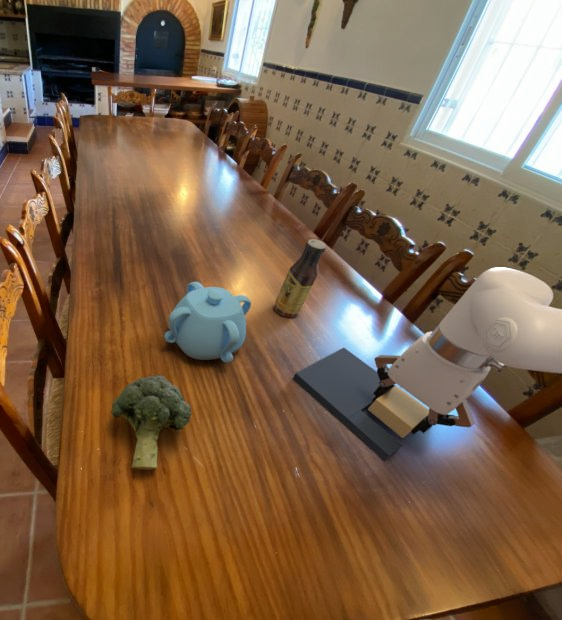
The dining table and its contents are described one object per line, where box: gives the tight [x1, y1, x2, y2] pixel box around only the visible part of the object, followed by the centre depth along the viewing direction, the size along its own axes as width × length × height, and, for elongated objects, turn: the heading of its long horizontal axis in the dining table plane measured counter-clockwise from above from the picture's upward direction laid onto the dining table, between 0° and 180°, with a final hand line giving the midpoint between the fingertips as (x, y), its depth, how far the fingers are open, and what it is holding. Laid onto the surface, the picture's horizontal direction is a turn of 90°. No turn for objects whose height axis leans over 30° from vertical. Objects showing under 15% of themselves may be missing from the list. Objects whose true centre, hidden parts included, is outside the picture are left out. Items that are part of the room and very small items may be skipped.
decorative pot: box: [163, 281, 252, 364], centre depth 76 cm, size 16×16×14 cm
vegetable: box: [110, 374, 192, 470], centre depth 58 cm, size 12×13×15 cm
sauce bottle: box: [273, 238, 327, 318], centre depth 84 cm, size 7×6×20 cm
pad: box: [367, 385, 429, 439], centre depth 64 cm, size 7×7×3 cm
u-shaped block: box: [292, 347, 404, 462], centre depth 70 cm, size 20×16×2 cm
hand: (396, 413), depth 65 cm, fingers closed on pad, 6 cm apart
